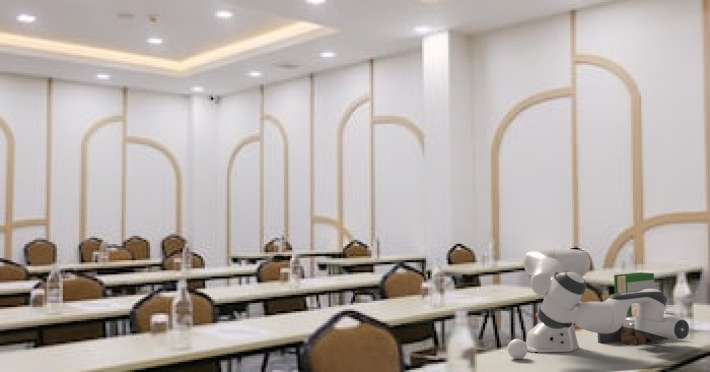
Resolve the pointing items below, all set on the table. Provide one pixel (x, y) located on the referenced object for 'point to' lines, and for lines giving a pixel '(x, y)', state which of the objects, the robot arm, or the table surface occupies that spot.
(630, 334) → the notch block
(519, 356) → the seamed sphere
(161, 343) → the table surface
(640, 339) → the dowel
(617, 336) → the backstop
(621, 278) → the hardback book
